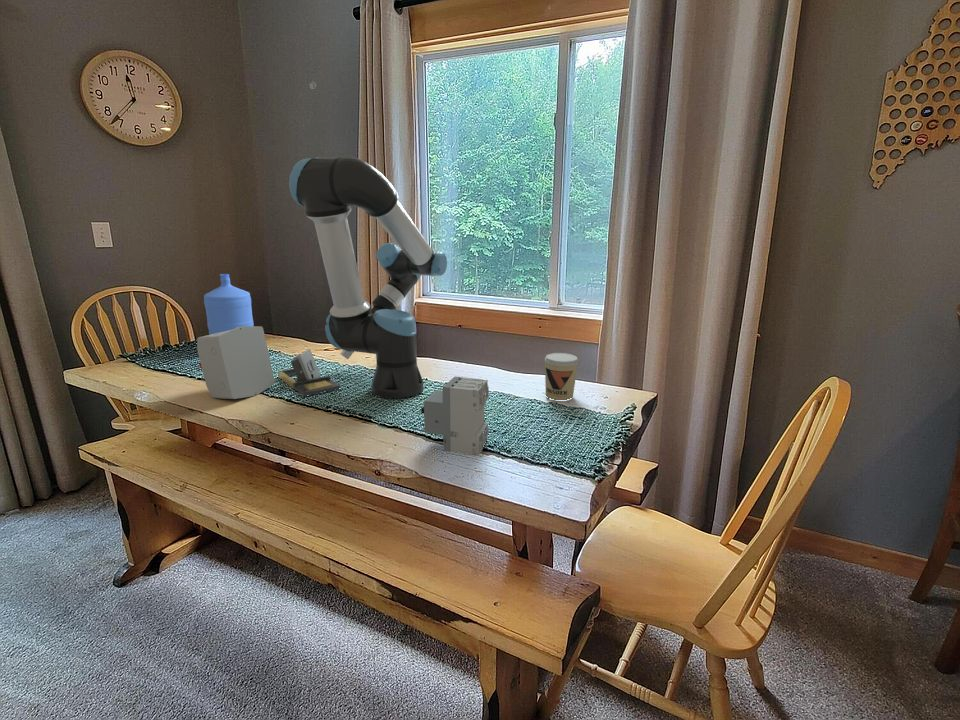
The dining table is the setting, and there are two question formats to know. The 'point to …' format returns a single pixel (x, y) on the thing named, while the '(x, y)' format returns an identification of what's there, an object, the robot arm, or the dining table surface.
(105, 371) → the dining table surface
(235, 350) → the electrical switch box
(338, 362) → the dining table surface
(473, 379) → the circuit breaker
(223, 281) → the water jug
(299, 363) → the electrical switch
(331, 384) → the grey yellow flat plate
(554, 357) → the coffee cup
